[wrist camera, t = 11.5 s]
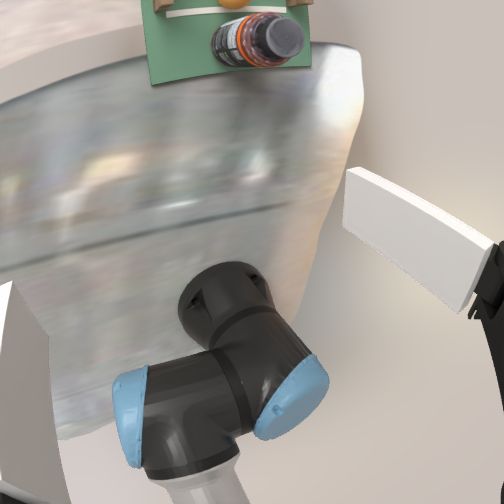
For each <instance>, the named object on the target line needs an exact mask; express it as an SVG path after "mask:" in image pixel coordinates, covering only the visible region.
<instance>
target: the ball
mask: <svg viewBox="0 0 504 504" xmlns="http://www.w3.org/2000/svg"><path fill="white" fill-rule="evenodd" d="M217 1H218V2H219V4H220V5H222V6H223V7H225V8H228V9H240V8H243V7H245V6H246V5H247V4H249V2H250V1H251V0H217Z"/></svg>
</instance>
